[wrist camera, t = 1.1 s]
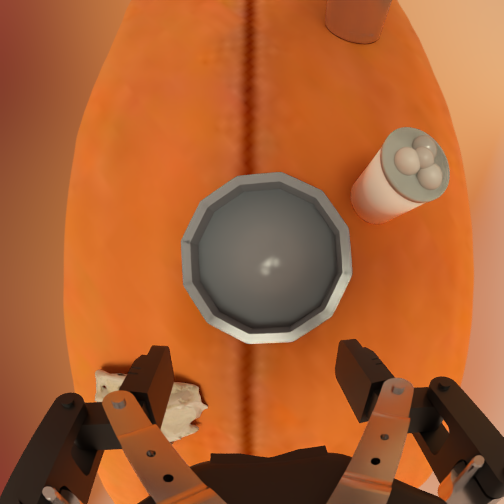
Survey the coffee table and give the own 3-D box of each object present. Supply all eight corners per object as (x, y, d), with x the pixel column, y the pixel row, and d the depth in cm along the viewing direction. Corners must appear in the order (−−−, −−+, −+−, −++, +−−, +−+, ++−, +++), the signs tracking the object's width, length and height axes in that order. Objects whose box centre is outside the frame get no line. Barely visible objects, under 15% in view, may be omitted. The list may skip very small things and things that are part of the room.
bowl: (190, 191, 32) (180, 183, 29) (335, 179, 30) (341, 168, 27) (198, 336, 31) (188, 343, 28) (347, 328, 29) (354, 336, 26)
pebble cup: (346, 174, 30) (382, 114, 17) (393, 173, 30) (448, 121, 16) (353, 226, 30) (400, 195, 16) (401, 223, 29) (468, 195, 15)
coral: (207, 384, 31) (193, 403, 26) (195, 453, 30) (183, 474, 25) (104, 346, 33) (81, 356, 28) (103, 414, 33) (84, 428, 27)
